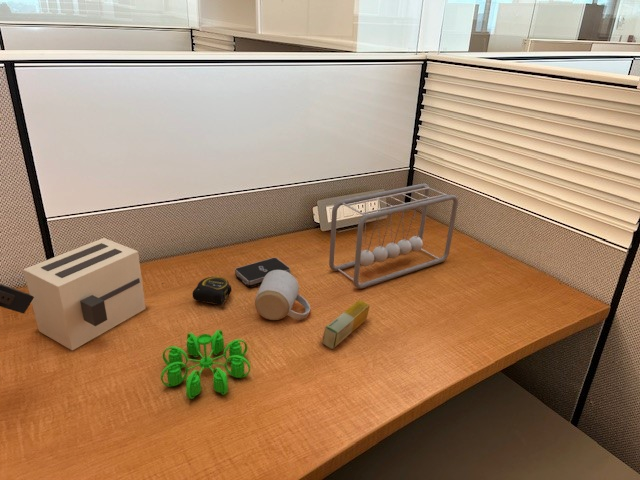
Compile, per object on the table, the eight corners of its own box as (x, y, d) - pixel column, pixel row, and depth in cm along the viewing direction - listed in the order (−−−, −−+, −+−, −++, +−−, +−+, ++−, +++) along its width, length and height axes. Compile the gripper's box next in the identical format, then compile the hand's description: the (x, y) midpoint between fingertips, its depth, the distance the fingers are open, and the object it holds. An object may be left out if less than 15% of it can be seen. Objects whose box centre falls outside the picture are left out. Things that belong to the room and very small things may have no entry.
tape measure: (191, 304, 98) (190, 288, 97) (207, 288, 104) (206, 272, 103) (221, 310, 97) (221, 294, 95) (236, 293, 103) (235, 278, 101)
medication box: (333, 350, 87) (336, 333, 85) (321, 343, 88) (323, 326, 86) (367, 319, 95) (370, 303, 93) (355, 313, 97) (358, 297, 95)
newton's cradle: (354, 292, 105) (361, 217, 98) (327, 271, 113) (331, 201, 105) (448, 260, 121) (460, 194, 113) (419, 244, 129) (428, 181, 121)
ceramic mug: (252, 320, 94) (252, 286, 90) (263, 298, 101) (263, 266, 98) (305, 327, 93) (307, 294, 89) (312, 305, 100) (314, 272, 97)
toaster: (38, 331, 88) (22, 268, 82) (113, 293, 100) (103, 236, 95) (72, 351, 83) (58, 286, 78) (146, 309, 96) (138, 250, 90)
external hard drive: (234, 276, 109) (234, 268, 108) (275, 264, 115) (275, 256, 114) (249, 289, 104) (248, 281, 103) (291, 276, 110) (291, 268, 109)
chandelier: (180, 419, 70) (176, 383, 68) (147, 363, 81) (142, 329, 78) (268, 381, 79) (268, 347, 76) (227, 334, 90) (226, 303, 87)
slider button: (83, 320, 83) (79, 300, 82) (95, 313, 85) (92, 294, 83) (95, 326, 82) (91, 306, 80) (107, 319, 84) (104, 300, 82)
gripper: (-212, 255, 53) (-12, 312, 73) (-166, 291, 47) (38, 343, 67) (-167, 196, 55) (15, 268, 75) (-118, 223, 49) (66, 294, 69)
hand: (26, 303), depth 71 cm, fingers closed
